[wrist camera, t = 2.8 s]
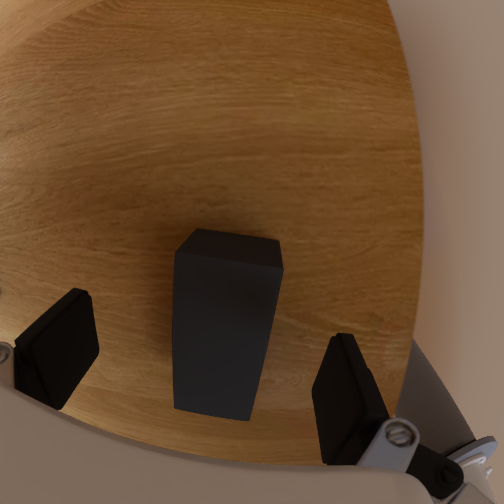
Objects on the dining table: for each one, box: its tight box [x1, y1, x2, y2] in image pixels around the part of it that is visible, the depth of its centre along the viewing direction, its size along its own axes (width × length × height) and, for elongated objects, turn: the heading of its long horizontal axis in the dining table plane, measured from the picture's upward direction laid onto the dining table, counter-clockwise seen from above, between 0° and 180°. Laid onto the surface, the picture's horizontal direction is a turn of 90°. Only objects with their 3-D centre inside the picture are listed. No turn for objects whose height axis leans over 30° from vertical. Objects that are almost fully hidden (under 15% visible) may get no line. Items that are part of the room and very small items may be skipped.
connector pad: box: [172, 228, 284, 421], centre depth 17 cm, size 5×11×4 cm, turn 172°
